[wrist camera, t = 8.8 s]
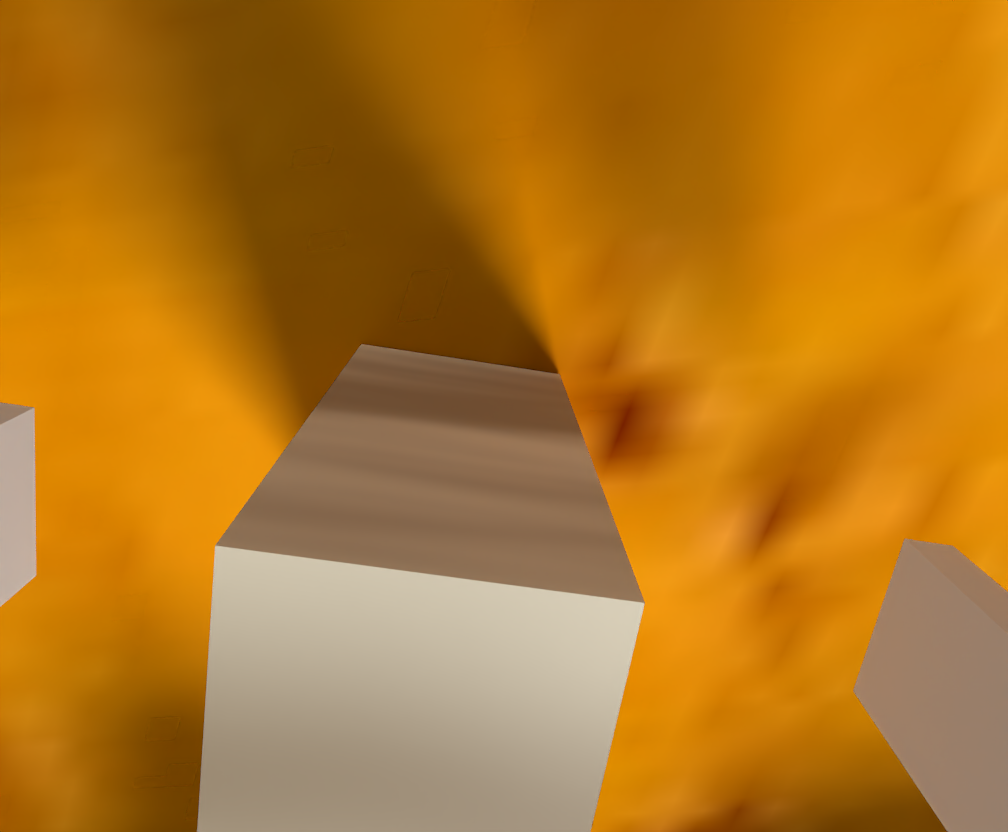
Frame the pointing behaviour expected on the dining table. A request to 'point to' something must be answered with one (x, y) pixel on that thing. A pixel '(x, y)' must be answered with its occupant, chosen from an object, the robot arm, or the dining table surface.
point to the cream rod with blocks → (419, 613)
